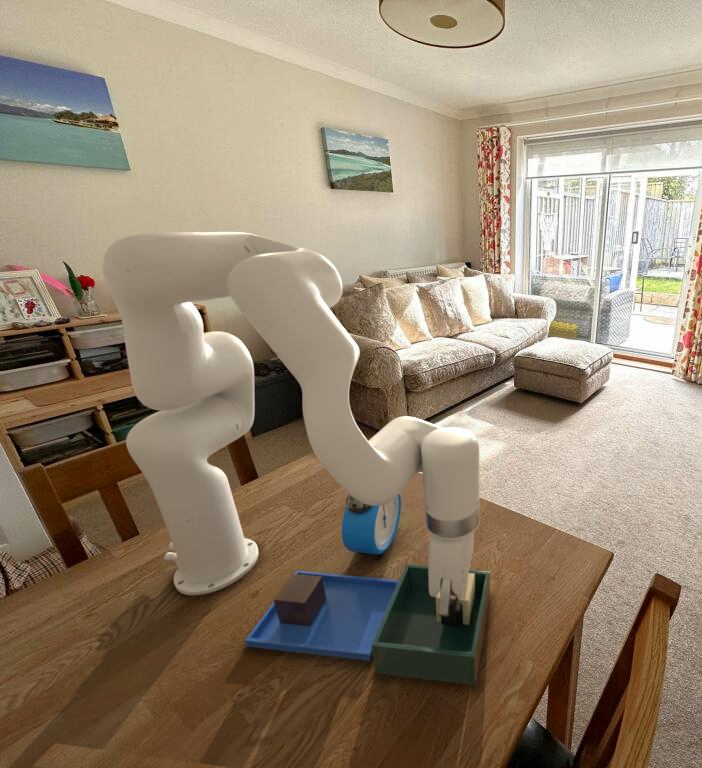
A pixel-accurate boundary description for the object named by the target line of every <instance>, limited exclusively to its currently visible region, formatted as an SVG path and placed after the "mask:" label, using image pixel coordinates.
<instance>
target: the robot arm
mask: <svg viewBox="0 0 702 768" xmlns="http://www.w3.org/2000/svg"><path fill="white" fill-rule="evenodd" d="M102 272H103V278H104V282H105V285H106V288H107V290H108V292H109V294H110V297H111V298H112V300H113V302H114V304H115V306H116V308H117V311H118V314H119V316H120V319H121V323H122V330H123V338H124V344H125V351H126V357H127V363H128V370H129V377H130V381H131V385H132V389H133V392H134V394H135V397H136V399H138V401H139V402H140V403H141V404H142V405H144V406H145V407H146V408H149V409H151V410H154V411H157V412H155V413H153V414H150V415H148V416H147V417H145V418H143V419H142V420H140V421H138V422H137V423H136V424H135V425H134V426H133V427H132V428H131V429H130V430H129V432H128V433H127V436H126V439H125V445H126V449H127V451H128V454H129V455H130V457H131V459H132V460H133V462H134V463H135V465H136V466H137V467H138V468H139V470H140V471H141V473H142V475H143V476H144V477H145V479H146V481H147V483H148V485H149V486H150V488H151V491H152V494H153V495H154V498H155V500H156V503H157V506H158V508H159V511H160V513H161V516H162V519H163V522H164V525H165V527H166V531H167V532H168V535H169V538H170V543H169V545H168V551H167V552H166V553H165V554H164V556H163V560H164V561H168V562H175V564H176V567H177V568H176V570H175V572H174V574H173V584H174V588H175V589H176V590H177V591H178V592H179V593H180V594H183V595H184V596H185V595H186V596H199V595H200V596H201V595H205V594H210V593H213V592H217V591H219V590H222V589H225V588H227V587H228V586H231V585H232V584H234V583H235V582H237V581H238V580H240V579H241V578H242V577H244V576H245V575H246V574H247V573H249V572H250V571H251V569H252V568H253V567H254V566H255V565H256V563H257V561H258V559H259V554H260V552H259V548H258V545H257V543H256V542H255V541H254V540H252V539H250V538H246V537H245V536H244V533H243V532H244V531H243V528H242V525H241V521H240V518H239V514H238V510H237V507H236V504H235V499H234V497H233V493H232V489H231V486H230V483H229V479H228V476H227V475H226V472H224V471H223V470H222V469H221V468H219V467H217V466H215V465H212V464H210V463H209V462H208V458H209V457H210V456H212V455H213V454H214V453H216V452H218V451H219V450H221V449H223V448H224V447H226V446H228V445H230V444H231V443H234V442H235V441H236V440H238V439H240V438H242V437H243V436H244V435H246V434H247V433H248V432H249V431H250V430H251V429H252V426H253V424H254V421H255V412H256V411H255V410H256V409H255V405H256V403H255V366H254V361H253V358H252V356H251V353H250V351H249V350H248V348H247V347H246V345H245V343H243V341H242V340H241V339H239V338H238V337H237V336H235V335H233V334H231V333H229V332H226V331H221V330H219V331H215V330H214V331H208V332H204V322H203V318H202V316H201V314H200V312H199V310H198V308H197V307H196V306H195V304H194V303H196V302H204V301H208V300H215V299H223V298H229V297H230V298H231V300H232V302H233V303H234V304H235V306H236V307H237V308H238V310H239V311H240V312H241V313H242V314H243V316H244V317H246V319H247V320H248V321H249V323H250V324H251V326H252V327H253V328H254V329H255V330H256V332H257V334H259V336H260V337H261V338H262V339H263V341H265V343H266V345H268V347H269V348H270V349H271V350H272V352H273V353H275V355H276V357H278V359H279V360H280V361H281V362H282V364H283V365H284V366H285V368H287V370H288V371H289V372H290V373H291V375H292V376H293V377H294V378H295V380H296V381H297V383H298V384H299V386H300V388H301V394H302V396H301V397H302V401H301V405H302V416H303V422H304V426H305V430H306V434H307V439H308V441H309V445H310V446H311V450H312V451H313V453H314V455H315V456H316V458H317V460H318V461H319V462H320V464H321V465H322V466H323V468H325V470H326V471H327V472H328V473H329V475H330V476H331V477H332V478H333V479H334V480H335V482H337V484H338V485H339V486H340V487H341V488H342V489H343V490H344V491H345V492H346V493H347V494H348V495H349V494H350V495H351V496H352V497H353V498H355V499H356V500H358V501H360V502H361V503H364V504H367V505H371V506H381V505H384V504H387V503H389V502H391V501H392V500H394V499H395V498H396V497H397V496H398V495H399V494H401V493H402V492H403V490H405V488H406V487H407V486H408V484H409V483H410V482H411V481H412V479H413V478H414V477H415V476H416V474H418V473H422V484H423V486H422V487H423V500H424V513H425V527H426V530H427V532H428V533H429V544H428V545H429V547H428V563H427V566H428V575H429V594H430V596H431V597H437V595H438V593H439V591H440V589H441V592H440V605H439V616H441V623H442V624H443V625H447V626H459V627H461V626H462V624H463V605H462V604H460V599H461V597H462V595H463V592H464V589H465V585H466V581H467V577H468V573H469V570H471V565H472V560H473V555H474V547H475V532H476V531H477V530H478V528H479V526H480V523H481V511H480V510H481V508H480V507H481V506H480V505H481V504H480V444H479V440H478V439H477V437H476V435H475V434H474V433H473V432H471V431H470V430H468V429H466V428H462V427H457V426H455V427H454V426H453V427H452V426H451V427H442V426H440V425H437V424H434V423H432V422H429V421H426V420H423V419H422V418H421V419H420V418H417V417H414V416H408V415H403V416H402V415H401V416H398V417H395V418H394V419H391V421H389V422H388V423H387V424H386V425H385V426H383V427H382V428H381V429H380V430H379V431H378V432H377V433H376V434H374V435H373V436H372V437H371V438H370V439H367V437H366V436H365V435H364V433H363V432H362V430H361V429H360V428H359V426H358V424H357V422H356V421H355V418H354V414H353V413H352V412H353V411H352V410H351V409H352V408H351V405H350V386H351V382H352V378H353V374H354V371H355V369H356V366H357V364H358V361H359V358H360V355H361V354H360V353H361V351H360V347H359V345H358V344H357V342H356V341H355V340H354V339H353V337H352V336H351V335H350V334H349V332H348V331H347V329H345V327H344V326H343V325H342V323H341V322H340V321H339V319H338V318H337V317H336V315H335V313H333V311H332V310H331V308H333V307H335V306H336V305H337V304H338V303H339V301H340V300H341V298H342V295H343V282H342V281H343V280H342V278H341V276H340V273H339V272H338V270H337V268H336V266H335V265H334V264H333V263H332V262H331V261H330V260H329V259H327V257H325V256H323V255H322V254H321V253H319V252H316V251H314V250H311V249H308V248H305V247H301V246H298V245H294V244H290V243H286V242H283V241H279V240H276V239H272V238H269V237H266V236H262V235H257V234H254V233H249V232H243V231H242V232H241V231H167V232H166V231H165V232H147V233H139V234H133V235H129V236H125V237H122V238H119V239H118V240H116V241H114V242H113V243H111V244H110V246H109V247H108V248H107V250H106V251H105V253H104V256H103V260H102ZM451 595H454V596H456V598H455V601H450V599H451Z"/></svg>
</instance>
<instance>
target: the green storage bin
mask: <svg viewBox="0 0 702 768" xmlns="http://www.w3.org/2000/svg"><path fill="white" fill-rule="evenodd" d="M469 573H472V574H475V600H474V604H473V609H472V614H471V619H470V624H469V625H466V624H462V626H461V627H459V626H447V625H443V624H442V623H441V622H438V621H437V613H436V597H431V596H430V594H429V575H428V565H421V564H410V563H406V564H405V567H404V569H403V571H402V573H401V576H400V578H399V580H398V581H399V583H398V585H397V587H396V590H395V592H394V594H393V597H392V599H391V601H390V604H389V606H388V608H387V611H386V613H385V615H384V618H383V620H382V622H381V625H380V627H379V629H378V632H377V634H376V636H375V639H374V641H373V643H372V652H373V656H372V658H373V666H374V671H375V674H381V675H388V676H395V677H405V678H413V679H421V680H430V681H439V682H447V683H456V684H463V685H464V684H465V685H470V687H473V688H474V687H476V684H477V677H478V673H479V666H480V660H481V654H482V648H483V643H484V637H485V629H486V623H487V618H488V613H489V607H490V602H491V601H490V599H491V571H485V570H474V569H469Z"/></svg>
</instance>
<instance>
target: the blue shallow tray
mask: <svg viewBox="0 0 702 768" xmlns="http://www.w3.org/2000/svg"><path fill="white" fill-rule="evenodd" d="M294 574H299V575H309V576H320V577H322V580H323V585H324V590H325V595H326V600H325V602H324V604H323V605H322V607H321V609H320V610H319V612H318V614H317V615H316V617H315V619H314V620H313V622H312V624H311V625H310V626H303V625H294V624H284V623H280V622H279V619H278V615H277V611H276V607H275V604H274V601H273V602H272V603H271V605H269V607H268V608H267V610H266V611H265V613H263V615H262V616H261V618H260V619H259V620H258V622H257V624H256V625H254V626H255V627H253V629H252V631H251V632H250V633H249V635H248V636H247V637H246V638H245V639H244V642H245V645H246V647H248V648H256V649H265V650H274V651H283V652H292V653H301V654H310V655H317V656H325V657H336V658H344V659H353V660H363V661H368V662H369V661H372V658H373V652H372V643H373V641H374V639H375V636H376V634H377V632H378V629H379V627H380V625H381V622H382V620H383V618H384V615H385V613H386V611H387V608H388V606H389V604H390V601H391V599H392V597H393V594H394V592H395V590H396V587H397V585H398V583H399V580H397V579H388V578H378V577H377V578H376V577H368V576H358V575H357V576H356V575H348V574H336V573H329V572H328V573H327V572H316V571H308V570H307V571H305V570H296V571H295V572H294Z"/></svg>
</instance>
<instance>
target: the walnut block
mask: <svg viewBox="0 0 702 768" xmlns="http://www.w3.org/2000/svg"><path fill="white" fill-rule="evenodd" d="M325 600H326V595H325V590H324V585H323V580H322V577H320V576H309V575H299V574H295V573H292V574H291V576H290V577H289V578H288V580H287V581H286V582H285V583H284V585H283V586H282V588H281V589H280V591H279V592H278V593H277V595H276V596H275V597H274V599H273V602H274V604H275V607H276V611H277V615H278V619H279V622H280V623H284V624H294V625H303V626H310V625H311V624H312V622H313V620H314V619H315V617H316V615H317V614H318V612H319V610H320V609H321V607H322V605H323V604H324V602H325Z"/></svg>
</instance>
